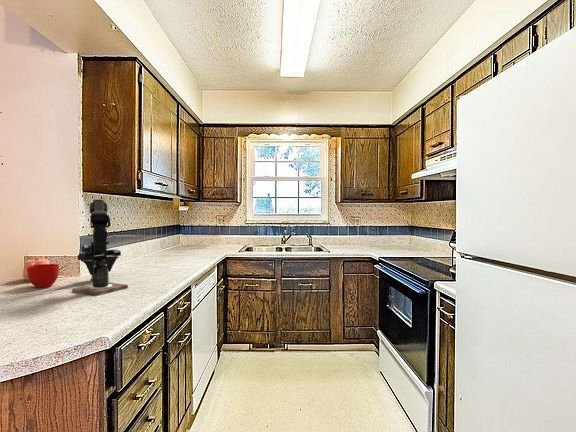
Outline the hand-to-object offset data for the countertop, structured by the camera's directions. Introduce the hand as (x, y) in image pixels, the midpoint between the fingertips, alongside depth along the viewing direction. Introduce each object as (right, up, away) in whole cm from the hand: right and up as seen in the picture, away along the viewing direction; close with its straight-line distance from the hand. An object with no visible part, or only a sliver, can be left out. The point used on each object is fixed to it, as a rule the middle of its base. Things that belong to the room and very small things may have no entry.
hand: (100, 273), depth 175 cm
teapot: (-46, -7, +25) cm, 53 cm away
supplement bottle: (0, -6, 0) cm, 6 cm away
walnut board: (0, -8, 0) cm, 8 cm away
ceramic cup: (-33, -8, +9) cm, 35 cm away
